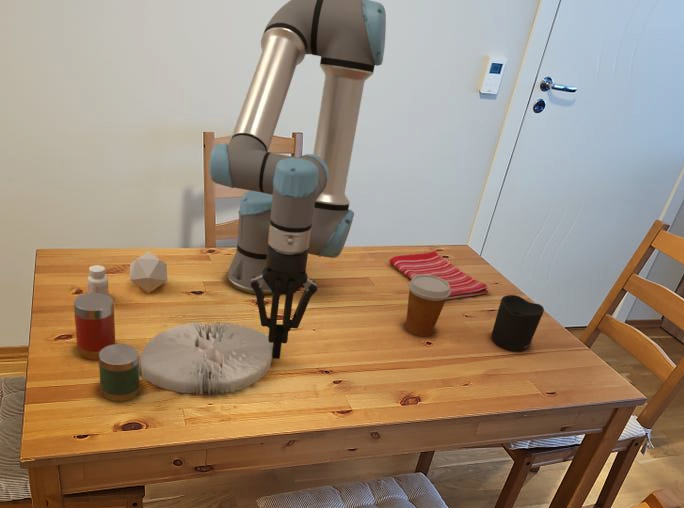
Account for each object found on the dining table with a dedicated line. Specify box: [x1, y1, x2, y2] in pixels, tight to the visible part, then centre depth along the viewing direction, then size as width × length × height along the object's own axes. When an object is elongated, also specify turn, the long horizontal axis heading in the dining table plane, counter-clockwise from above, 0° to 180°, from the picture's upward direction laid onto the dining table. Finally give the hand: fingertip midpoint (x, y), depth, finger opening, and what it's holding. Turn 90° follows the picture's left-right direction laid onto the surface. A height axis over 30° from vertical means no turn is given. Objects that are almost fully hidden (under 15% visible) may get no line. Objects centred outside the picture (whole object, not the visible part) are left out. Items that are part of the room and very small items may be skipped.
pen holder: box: [490, 294, 545, 353], centre depth 146 cm, size 9×9×10 cm
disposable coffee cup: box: [405, 275, 451, 337], centre depth 146 cm, size 10×10×12 cm
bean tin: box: [98, 343, 140, 402], centre depth 115 cm, size 7×7×8 cm
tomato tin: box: [73, 292, 116, 361], centre depth 124 cm, size 7×7×11 cm
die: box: [129, 250, 168, 294], centre depth 150 cm, size 8×9×10 cm
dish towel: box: [389, 251, 489, 301], centre depth 174 cm, size 17×24×3 cm
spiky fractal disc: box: [139, 321, 273, 396], centre depth 127 cm, size 22×28×3 cm
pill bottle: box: [87, 264, 110, 296], centre depth 142 cm, size 4×4×8 cm
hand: (275, 355), depth 130 cm, fingers closed
